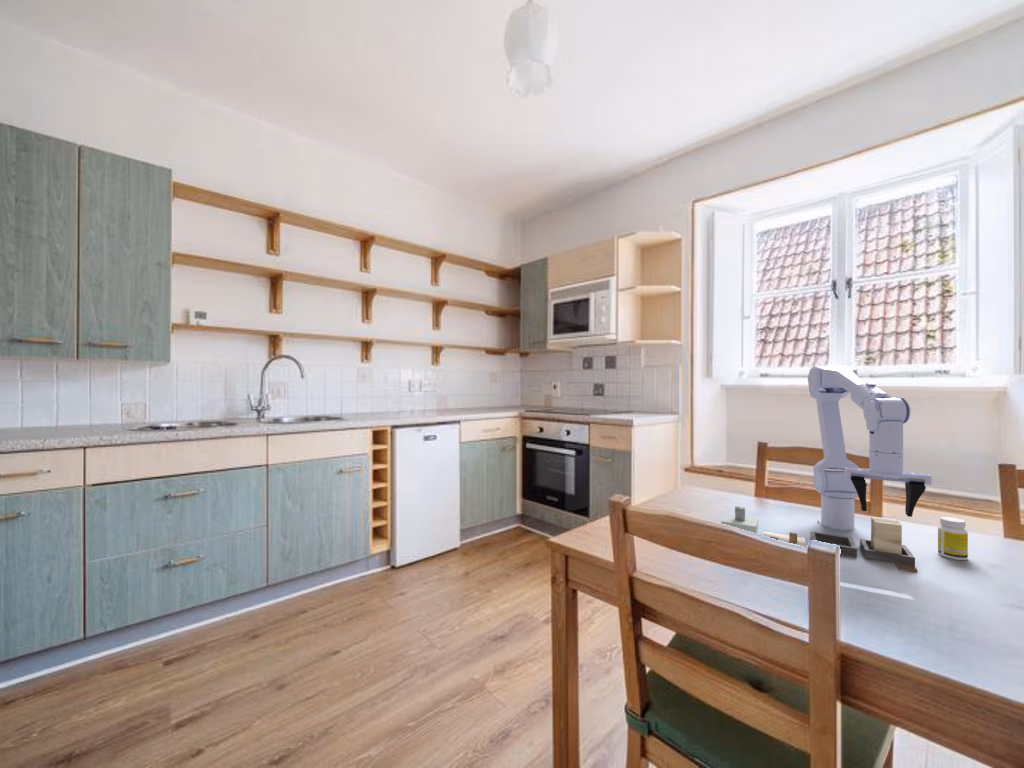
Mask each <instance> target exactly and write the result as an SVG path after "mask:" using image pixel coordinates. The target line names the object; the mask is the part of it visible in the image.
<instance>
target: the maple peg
mask: <svg viewBox="0 0 1024 768" xmlns="http://www.w3.org/2000/svg"><path fill="white" fill-rule="evenodd" d="M902 529H903V526H902V524H901V523H900V522H899V520H898V519H894V518H885V517H877V516H871V517H870V540H871V550H875V551H881V552H888V553H894V554H901V555H902V545H903V544H902V543H903V542H902V541H903V540H902V539H903V537H902V536H903V535H902V534H903V531H902Z"/></svg>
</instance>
